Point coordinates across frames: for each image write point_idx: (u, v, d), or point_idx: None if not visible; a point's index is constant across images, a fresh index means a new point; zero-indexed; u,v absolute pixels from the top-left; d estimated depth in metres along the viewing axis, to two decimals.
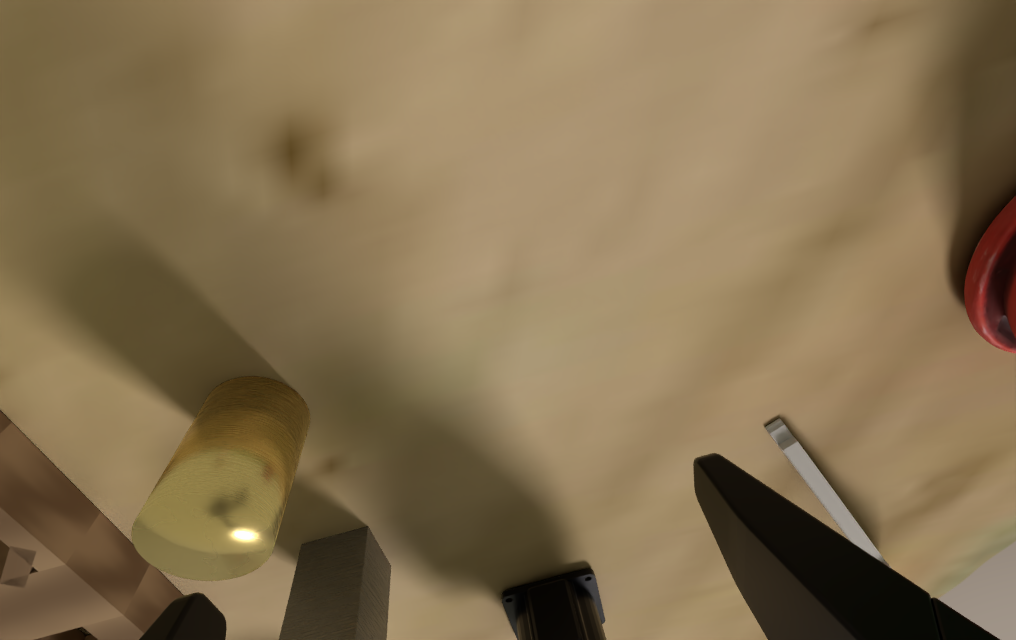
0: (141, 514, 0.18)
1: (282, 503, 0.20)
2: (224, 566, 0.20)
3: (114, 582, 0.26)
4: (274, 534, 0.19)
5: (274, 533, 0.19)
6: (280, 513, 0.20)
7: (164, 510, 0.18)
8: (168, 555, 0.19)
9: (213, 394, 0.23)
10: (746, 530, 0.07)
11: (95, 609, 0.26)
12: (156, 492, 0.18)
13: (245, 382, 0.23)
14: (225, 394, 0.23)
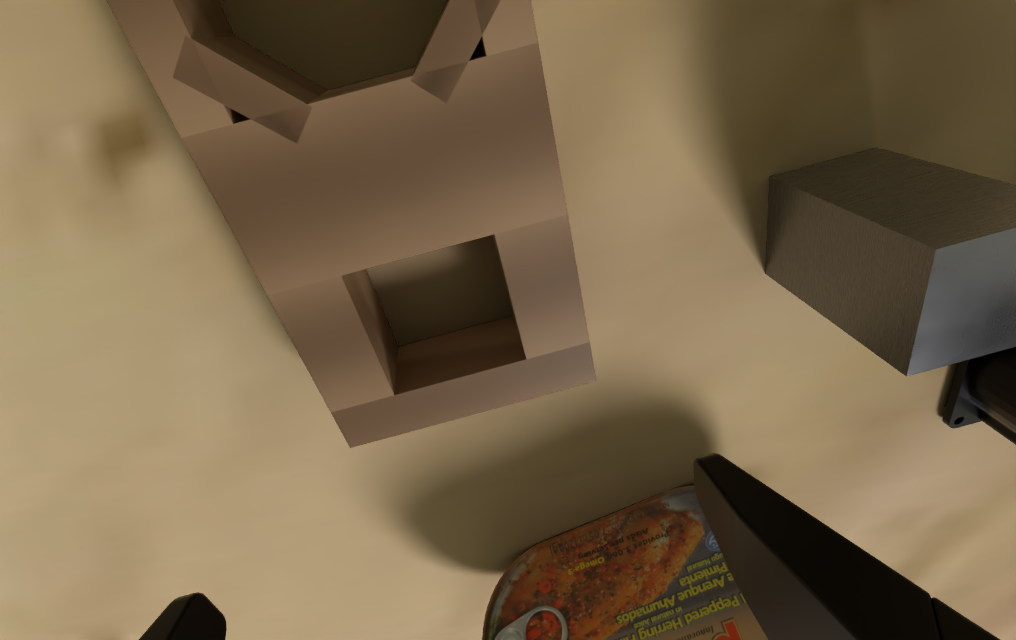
0: None
1: None
2: None
3: None
4: None
5: None
6: None
7: None
8: None
9: None
10: (746, 530, 0.07)
11: (532, 189, 0.14)
12: None
13: None
14: None
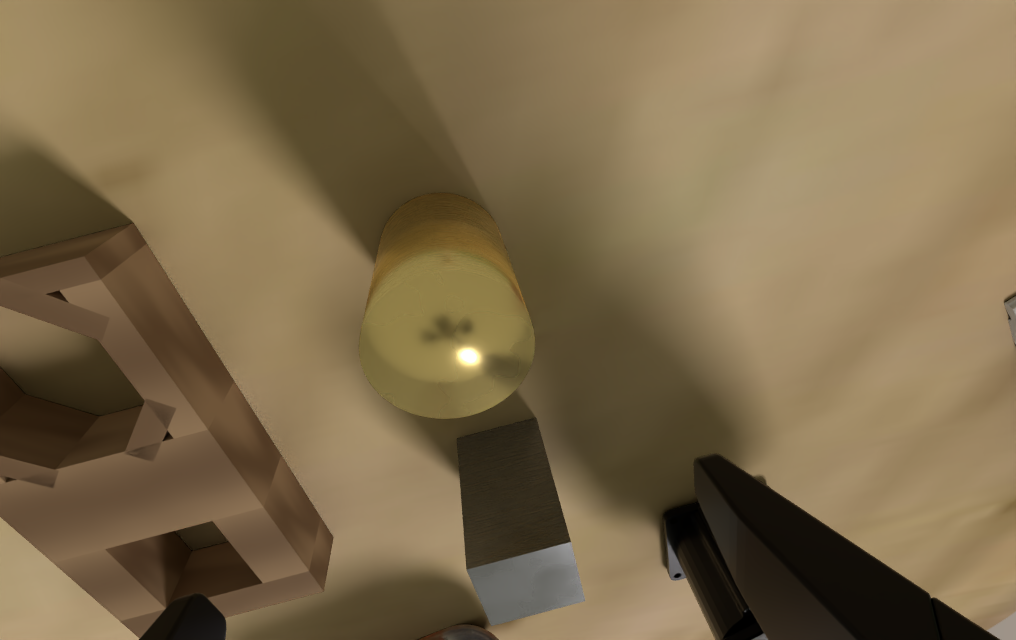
0: (380, 299, 0.13)
1: None
2: (460, 396, 0.15)
3: (252, 466, 0.21)
4: (533, 349, 0.14)
5: None
6: None
7: (412, 294, 0.13)
8: (397, 372, 0.14)
9: (403, 209, 0.18)
10: (746, 530, 0.07)
11: (232, 497, 0.21)
12: (393, 277, 0.13)
13: (442, 196, 0.18)
14: (424, 204, 0.18)
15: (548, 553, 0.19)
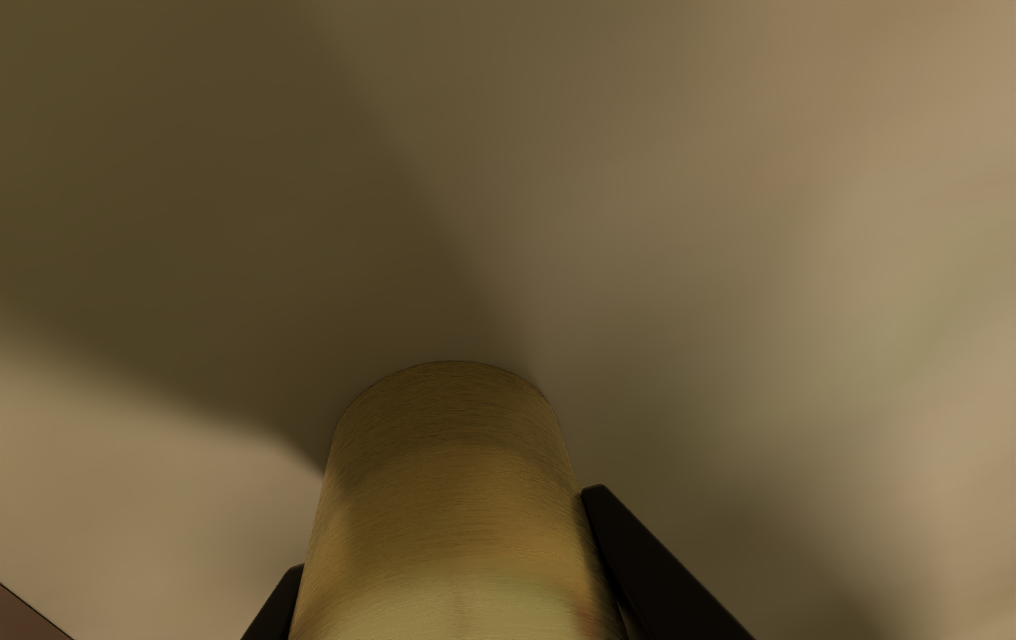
0: None
1: None
2: None
3: None
4: None
5: None
6: None
7: None
8: None
9: (371, 406, 0.09)
10: (610, 567, 0.07)
11: None
12: None
13: (449, 376, 0.09)
14: (413, 407, 0.09)
15: None
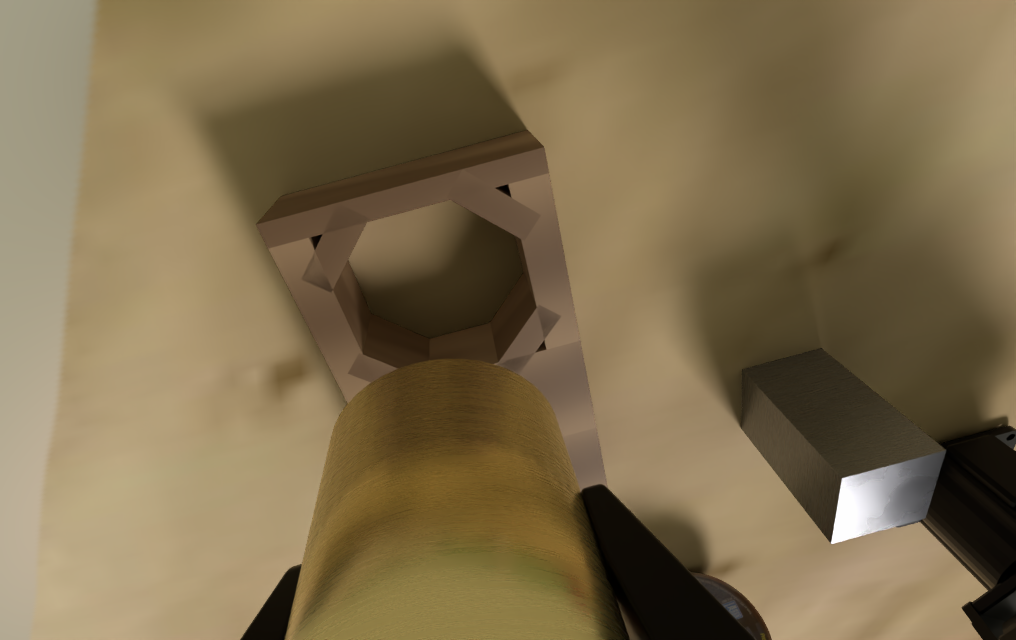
0: None
1: None
2: None
3: None
4: None
5: None
6: None
7: None
8: None
9: (370, 404, 0.09)
10: (610, 566, 0.07)
11: (573, 415, 0.21)
12: None
13: (448, 373, 0.09)
14: (411, 404, 0.09)
15: (920, 462, 0.19)
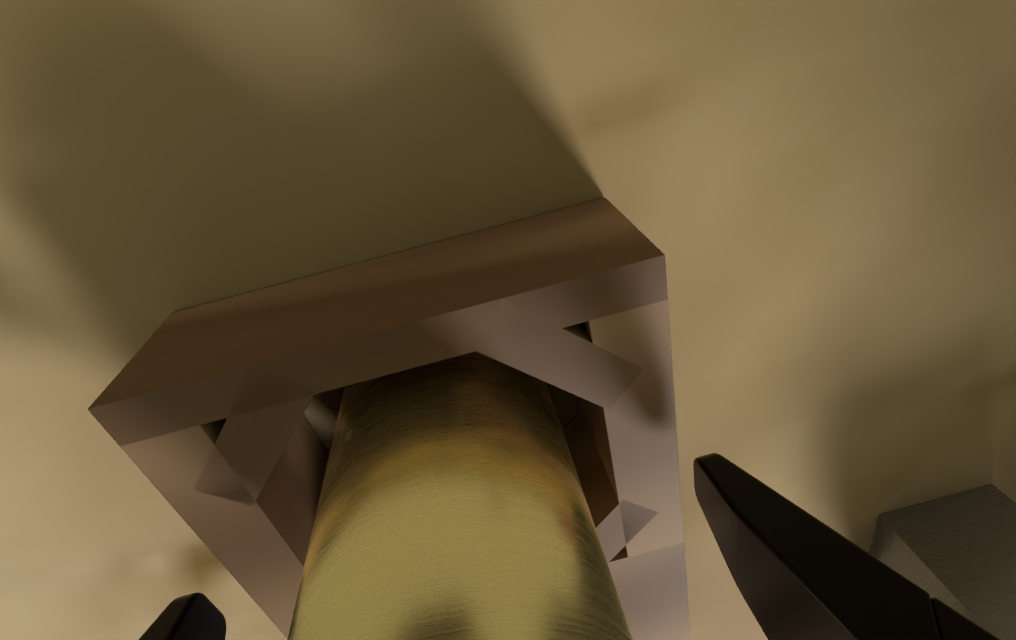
0: None
1: None
2: None
3: None
4: None
5: None
6: None
7: None
8: None
9: None
10: (746, 530, 0.07)
11: (657, 632, 0.13)
12: (338, 621, 0.06)
13: None
14: None
15: None
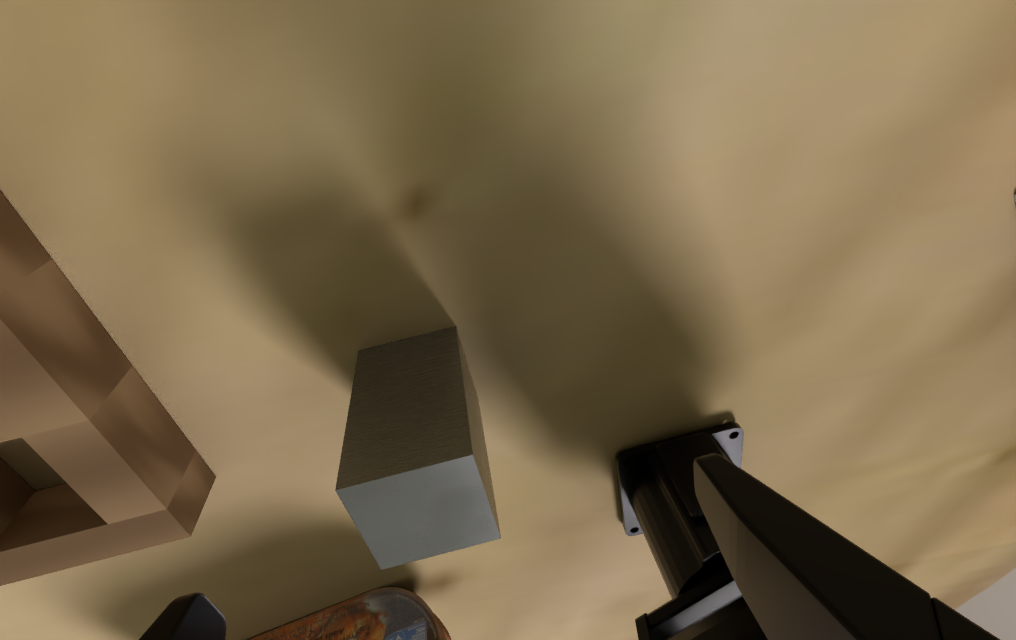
0: None
1: None
2: None
3: (74, 367, 0.16)
4: None
5: None
6: None
7: None
8: None
9: None
10: (746, 530, 0.07)
11: (42, 404, 0.16)
12: None
13: None
14: None
15: (444, 470, 0.15)
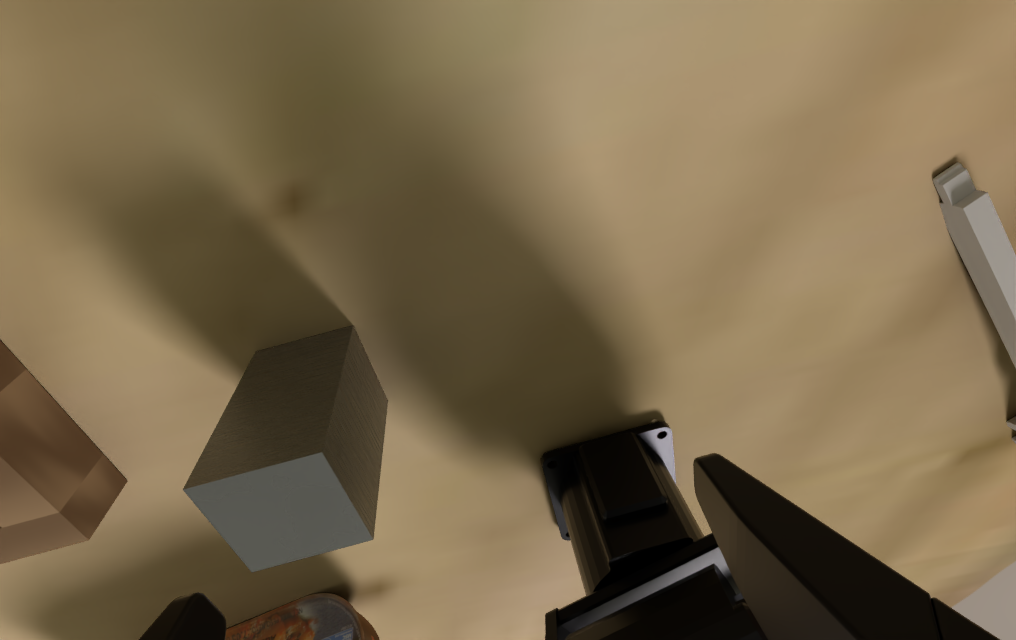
0: None
1: None
2: None
3: None
4: None
5: None
6: None
7: None
8: None
9: None
10: (746, 530, 0.07)
11: None
12: None
13: None
14: None
15: (295, 468, 0.14)
